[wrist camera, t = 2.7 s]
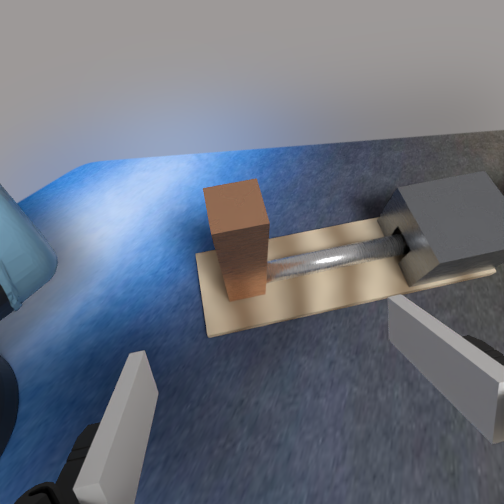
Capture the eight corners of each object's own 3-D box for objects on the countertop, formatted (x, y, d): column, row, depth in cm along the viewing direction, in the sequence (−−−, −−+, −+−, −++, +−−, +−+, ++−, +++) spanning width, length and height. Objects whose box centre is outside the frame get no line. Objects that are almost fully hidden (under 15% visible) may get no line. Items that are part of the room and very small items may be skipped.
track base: (208, 337, 33) (207, 335, 32) (196, 257, 37) (195, 253, 36) (490, 275, 35) (496, 271, 34) (447, 207, 40) (452, 202, 39)
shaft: (229, 301, 33) (211, 234, 20) (223, 269, 35) (202, 188, 22) (409, 263, 35) (498, 178, 22) (394, 234, 36) (468, 139, 24)
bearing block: (409, 287, 34) (439, 263, 28) (376, 220, 38) (397, 187, 32) (492, 269, 35) (538, 242, 29) (451, 205, 39) (484, 170, 33)
